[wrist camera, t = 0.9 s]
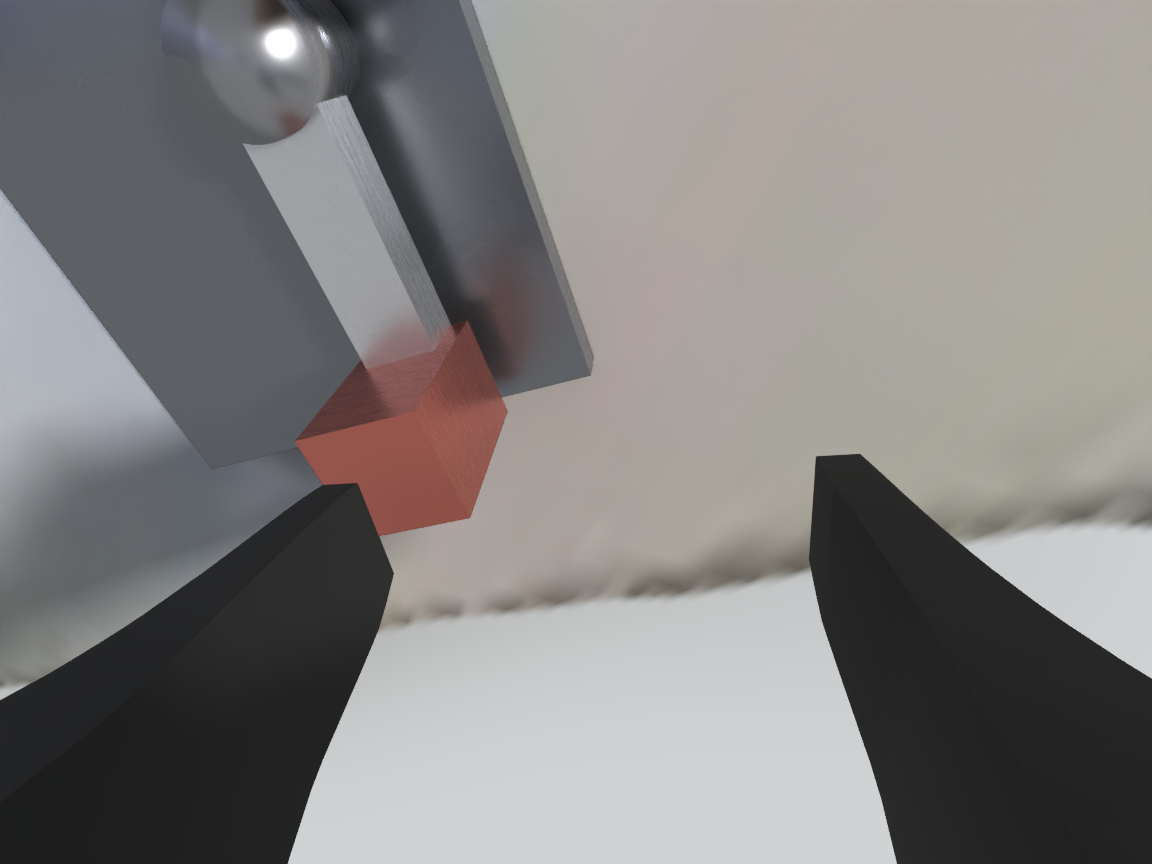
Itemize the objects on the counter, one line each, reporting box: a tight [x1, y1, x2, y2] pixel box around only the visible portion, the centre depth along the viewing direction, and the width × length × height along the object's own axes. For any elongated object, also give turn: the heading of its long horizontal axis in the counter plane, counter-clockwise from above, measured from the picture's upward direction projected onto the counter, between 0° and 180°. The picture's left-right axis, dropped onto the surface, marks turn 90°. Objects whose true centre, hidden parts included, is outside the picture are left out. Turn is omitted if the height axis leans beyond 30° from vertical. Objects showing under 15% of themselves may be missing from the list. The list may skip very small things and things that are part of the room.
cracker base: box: [0, 0, 594, 469], centre depth 16 cm, size 14×14×7 cm
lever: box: [161, 0, 508, 536], centre depth 15 cm, size 12×3×5 cm, turn 18°
